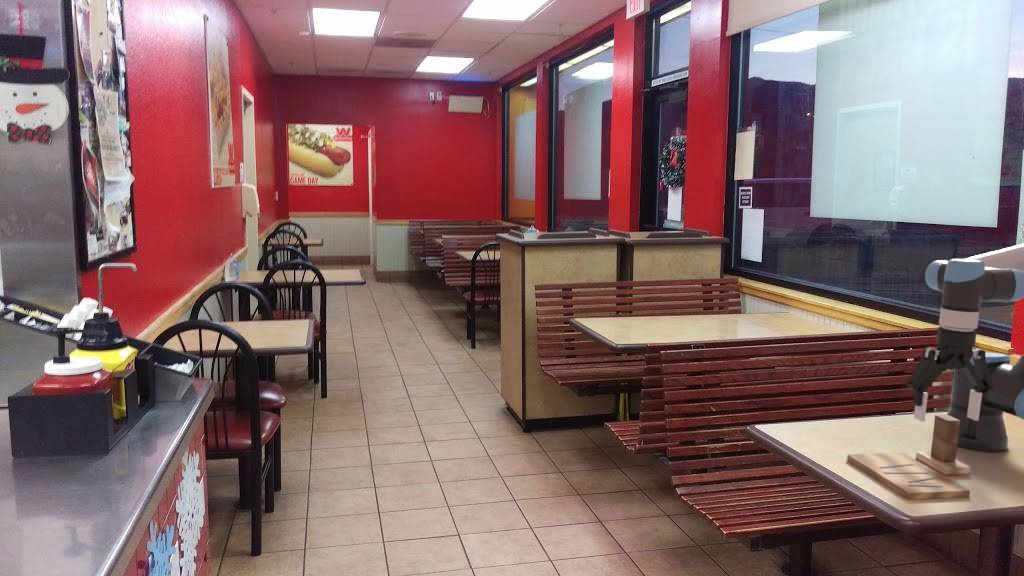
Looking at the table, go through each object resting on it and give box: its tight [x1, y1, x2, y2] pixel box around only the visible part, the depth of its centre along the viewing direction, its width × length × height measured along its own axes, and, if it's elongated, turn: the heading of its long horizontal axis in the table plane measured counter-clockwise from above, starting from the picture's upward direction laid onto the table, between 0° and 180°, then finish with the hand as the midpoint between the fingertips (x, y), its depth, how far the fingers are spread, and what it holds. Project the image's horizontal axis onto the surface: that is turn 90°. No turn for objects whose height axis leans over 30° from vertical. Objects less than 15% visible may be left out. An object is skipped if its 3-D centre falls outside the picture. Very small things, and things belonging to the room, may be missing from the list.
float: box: [915, 414, 971, 477], centre depth 177 cm, size 6×10×12 cm, turn 9°
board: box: [846, 452, 971, 501], centre depth 171 cm, size 14×22×2 cm, turn 9°
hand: (946, 419), depth 176 cm, fingers open, 13 cm apart
